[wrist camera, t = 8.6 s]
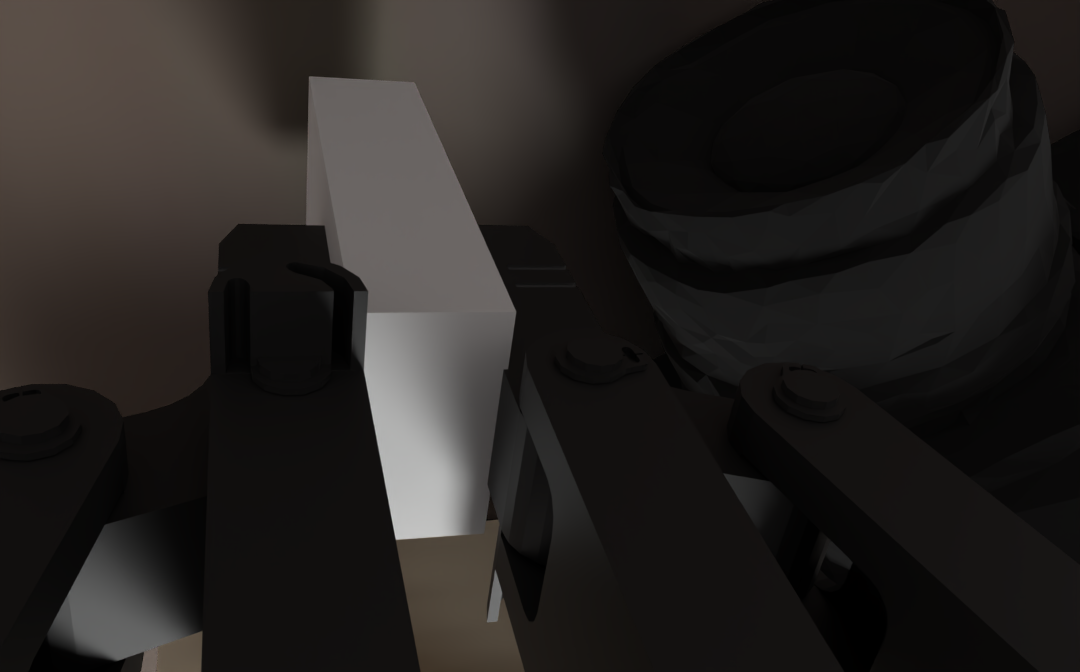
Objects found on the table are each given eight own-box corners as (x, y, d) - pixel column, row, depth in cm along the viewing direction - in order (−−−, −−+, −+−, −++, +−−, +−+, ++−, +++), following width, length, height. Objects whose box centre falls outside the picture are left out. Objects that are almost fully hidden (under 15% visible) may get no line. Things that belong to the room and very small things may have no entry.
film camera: (1150, -228, 16) (1892, -153, 9) (1173, 231, 22) (1641, 505, 15) (334, 217, 17) (408, 624, 10) (560, 552, 23) (714, 969, 15)
